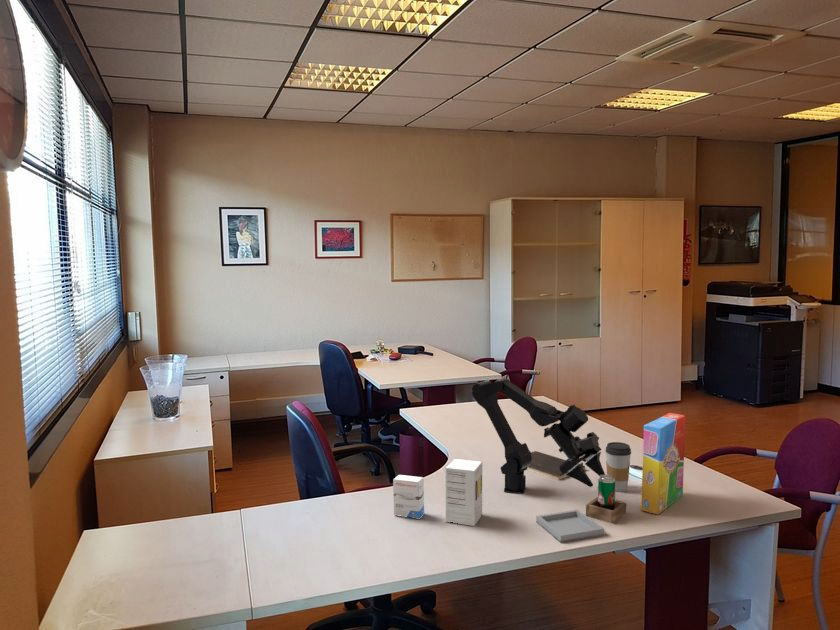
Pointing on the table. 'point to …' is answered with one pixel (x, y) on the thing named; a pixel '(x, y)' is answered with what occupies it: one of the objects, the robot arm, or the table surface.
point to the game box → (663, 462)
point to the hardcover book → (547, 465)
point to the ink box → (408, 496)
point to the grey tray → (569, 525)
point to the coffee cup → (618, 464)
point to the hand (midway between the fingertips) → (598, 481)
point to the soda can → (606, 492)
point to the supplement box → (463, 491)
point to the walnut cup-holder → (606, 511)
